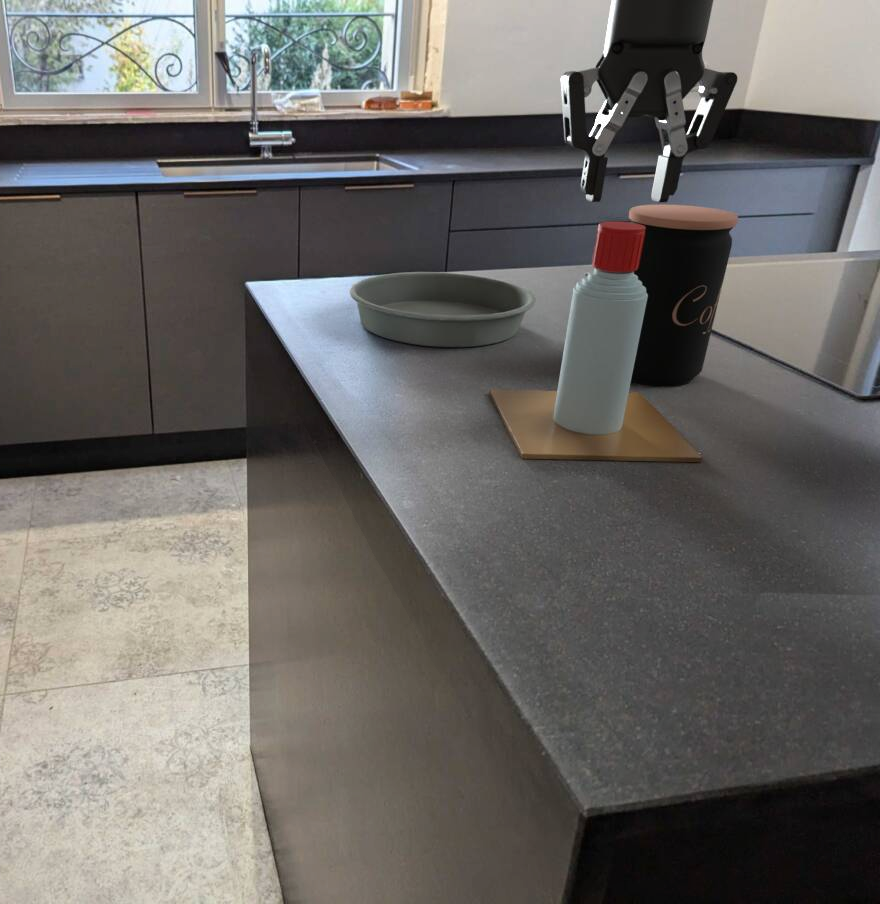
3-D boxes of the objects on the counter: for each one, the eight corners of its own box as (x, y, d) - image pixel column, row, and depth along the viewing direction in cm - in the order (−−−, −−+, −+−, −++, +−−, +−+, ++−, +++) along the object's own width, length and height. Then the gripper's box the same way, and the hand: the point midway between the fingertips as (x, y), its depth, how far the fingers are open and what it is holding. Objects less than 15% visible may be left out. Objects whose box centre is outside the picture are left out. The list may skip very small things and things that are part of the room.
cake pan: (564, 323, 113) (569, 290, 111) (467, 366, 97) (471, 329, 95) (416, 291, 128) (418, 262, 126) (311, 324, 112) (312, 291, 110)
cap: (629, 262, 76) (636, 221, 74) (644, 272, 72) (653, 230, 71) (585, 262, 76) (592, 221, 75) (599, 272, 73) (606, 229, 71)
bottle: (609, 409, 84) (644, 224, 76) (631, 435, 78) (672, 237, 70) (545, 408, 84) (574, 223, 76) (563, 434, 78) (595, 236, 70)
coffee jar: (666, 395, 89) (704, 224, 81) (582, 368, 96) (609, 210, 89) (718, 375, 94) (758, 214, 87) (634, 351, 102) (664, 201, 94)
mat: (638, 396, 88) (639, 392, 88) (701, 462, 74) (702, 457, 74) (488, 394, 89) (489, 389, 89) (521, 458, 74) (522, 453, 74)
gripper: (736, -18, 68) (691, 195, 75) (560, -18, 68) (532, 193, 76) (782, -27, 61) (728, 209, 68) (587, -27, 62) (553, 207, 69)
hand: (625, 199), depth 72 cm, fingers open, 5 cm apart
